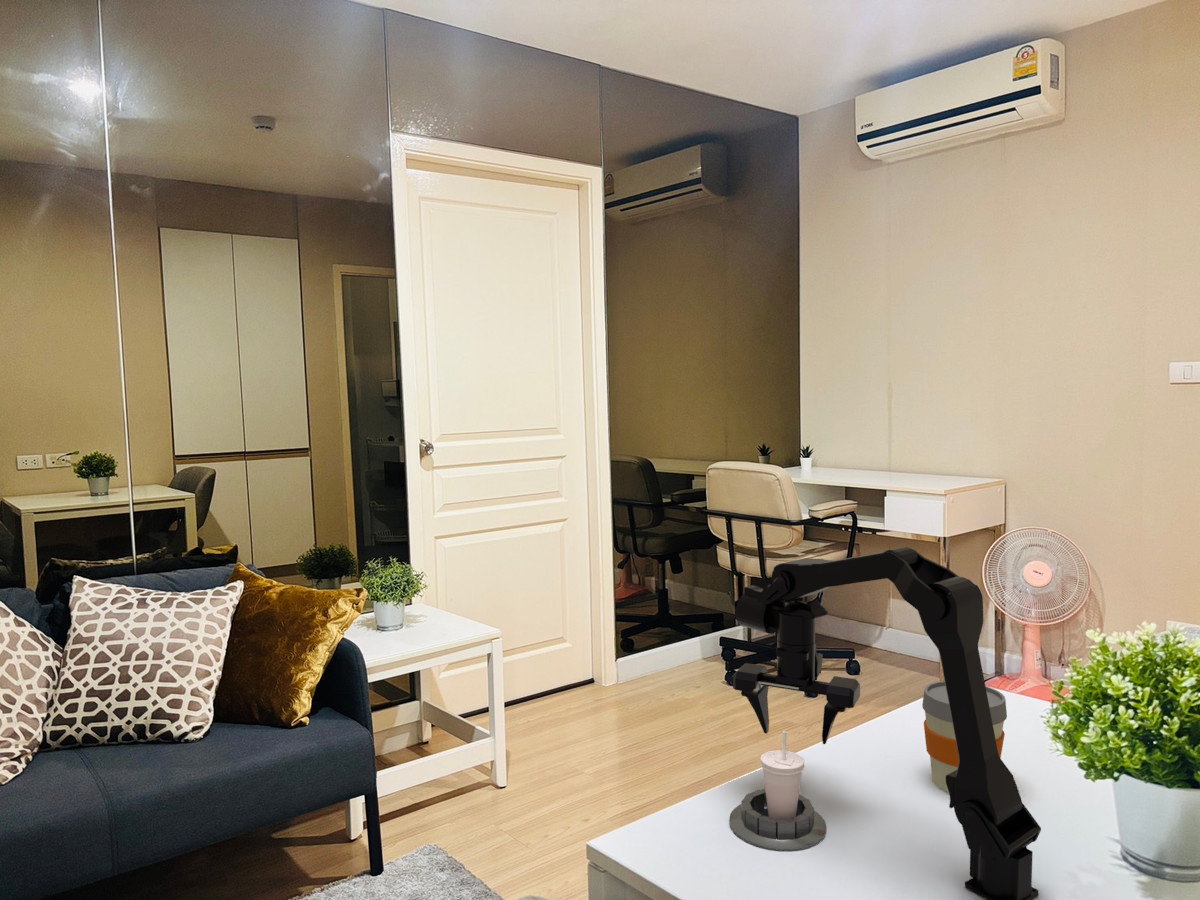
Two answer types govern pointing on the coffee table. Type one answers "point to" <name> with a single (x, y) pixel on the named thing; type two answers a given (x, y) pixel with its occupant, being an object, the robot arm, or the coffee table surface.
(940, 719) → the reusable coffee cup
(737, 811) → the mount
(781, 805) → the smoothie
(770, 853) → the coffee table surface
